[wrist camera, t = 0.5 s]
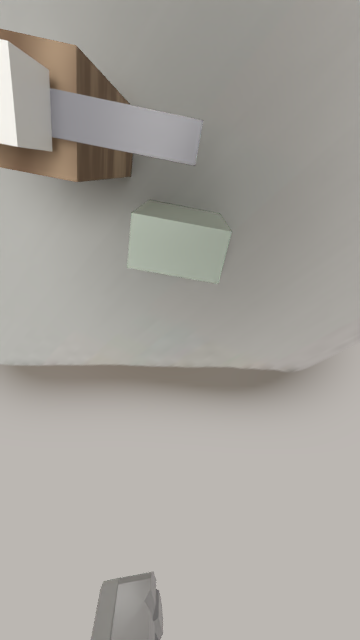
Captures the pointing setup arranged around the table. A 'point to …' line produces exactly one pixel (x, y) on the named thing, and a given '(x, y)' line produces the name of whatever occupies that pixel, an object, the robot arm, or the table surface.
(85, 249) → the table surface
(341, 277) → the table surface
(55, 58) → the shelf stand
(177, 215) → the block
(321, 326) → the table surface
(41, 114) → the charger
